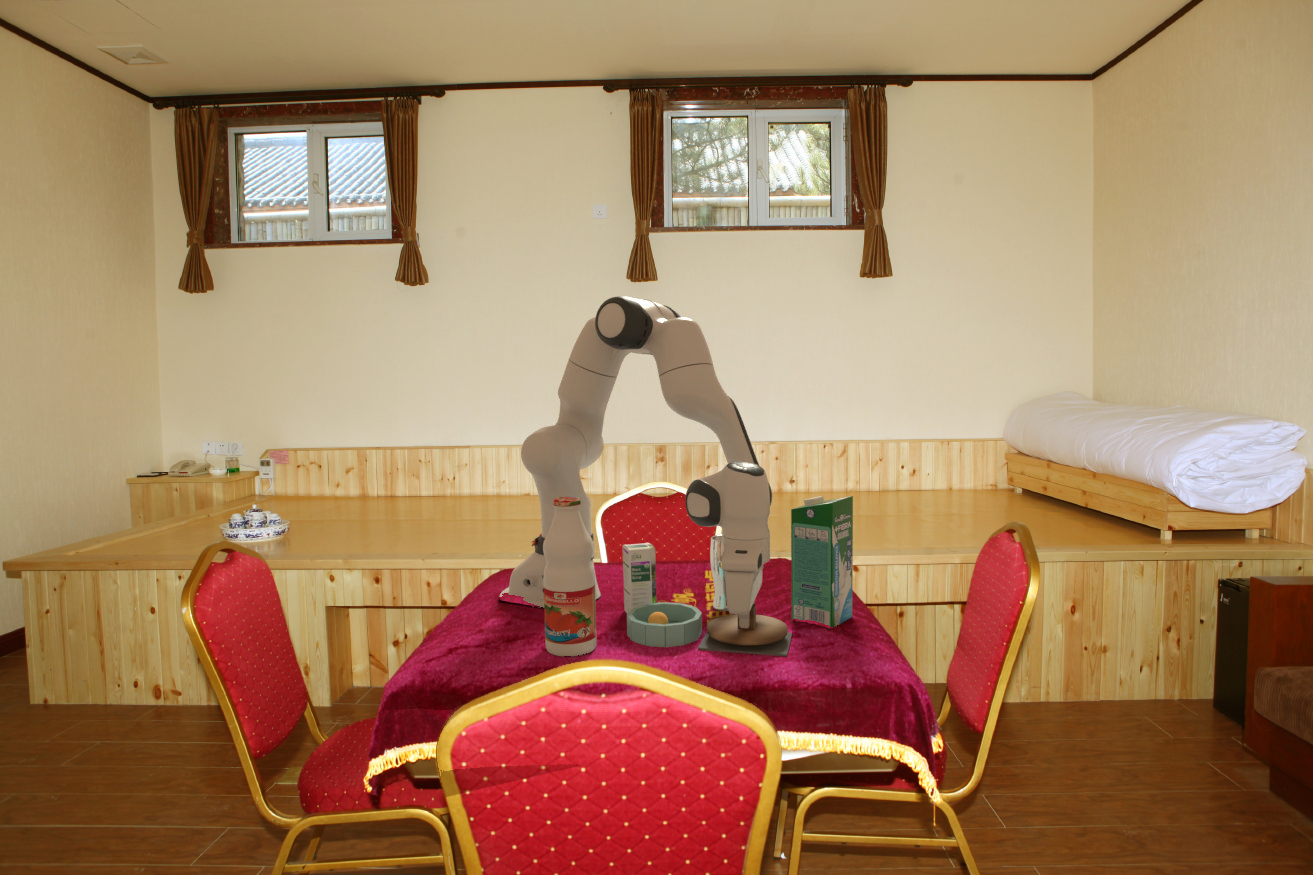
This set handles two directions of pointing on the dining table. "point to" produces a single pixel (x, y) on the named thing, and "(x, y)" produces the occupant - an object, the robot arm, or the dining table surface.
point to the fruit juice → (569, 583)
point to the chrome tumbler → (718, 574)
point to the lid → (747, 629)
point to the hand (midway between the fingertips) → (746, 622)
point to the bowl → (664, 625)
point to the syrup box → (639, 575)
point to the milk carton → (822, 560)
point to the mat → (747, 646)
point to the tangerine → (658, 618)
